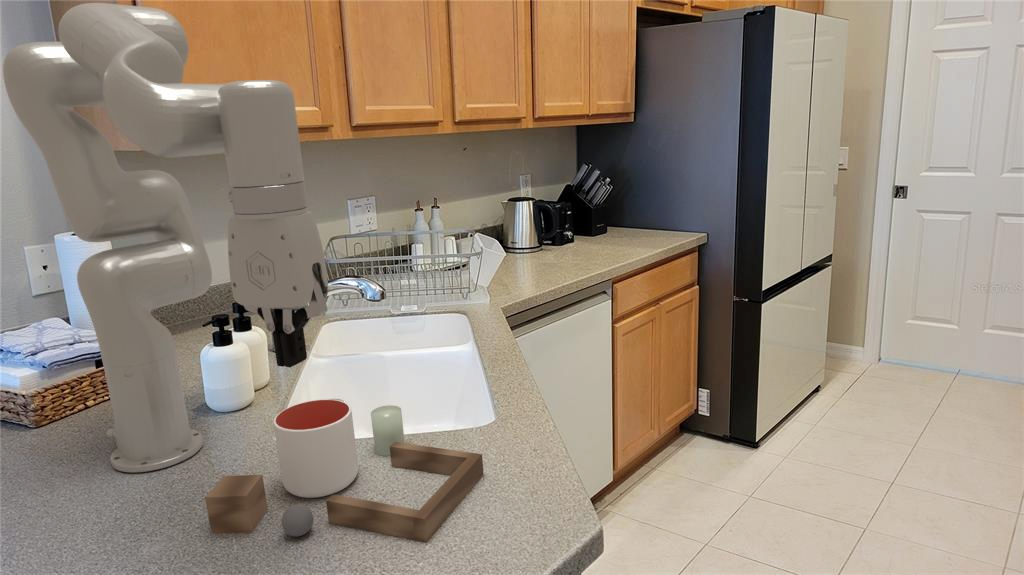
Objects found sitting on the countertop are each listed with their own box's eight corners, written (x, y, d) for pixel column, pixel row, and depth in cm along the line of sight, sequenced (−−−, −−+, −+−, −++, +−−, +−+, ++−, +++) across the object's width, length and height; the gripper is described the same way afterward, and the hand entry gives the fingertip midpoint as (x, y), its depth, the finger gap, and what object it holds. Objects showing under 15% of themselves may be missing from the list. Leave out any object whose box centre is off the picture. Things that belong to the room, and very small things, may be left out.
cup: (365, 461, 99) (357, 396, 97) (351, 499, 89) (343, 428, 87) (294, 466, 99) (285, 401, 96) (273, 504, 89) (262, 433, 87)
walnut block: (211, 534, 83) (204, 497, 82) (229, 511, 88) (223, 476, 87) (252, 533, 83) (246, 496, 82) (267, 510, 88) (262, 474, 87)
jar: (369, 454, 101) (364, 416, 100) (385, 440, 105) (381, 404, 104) (395, 458, 100) (391, 419, 98) (410, 444, 104) (406, 407, 102)
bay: (328, 522, 84) (325, 500, 83) (397, 461, 99) (395, 441, 98) (426, 542, 79) (424, 519, 78) (483, 474, 94) (482, 454, 93)
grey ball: (277, 539, 81) (272, 512, 80) (297, 522, 85) (293, 496, 84) (302, 545, 80) (298, 517, 79) (321, 527, 83) (317, 501, 82)
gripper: (190, 205, 74) (217, 368, 78) (303, 206, 68) (325, 381, 72) (242, 196, 80) (264, 347, 85) (349, 196, 74) (366, 357, 79)
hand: (292, 362), depth 78 cm, fingers closed
